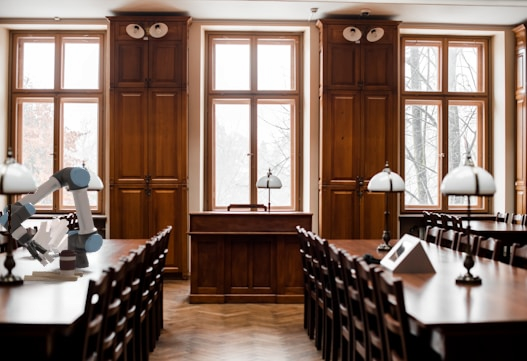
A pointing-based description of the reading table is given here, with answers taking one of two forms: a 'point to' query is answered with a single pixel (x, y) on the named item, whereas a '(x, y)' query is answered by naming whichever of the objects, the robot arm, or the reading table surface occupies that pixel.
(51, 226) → the white jagged sculpture
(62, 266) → the coffee cup
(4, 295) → the reading table surface
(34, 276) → the beech guide rails
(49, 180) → the robot arm
